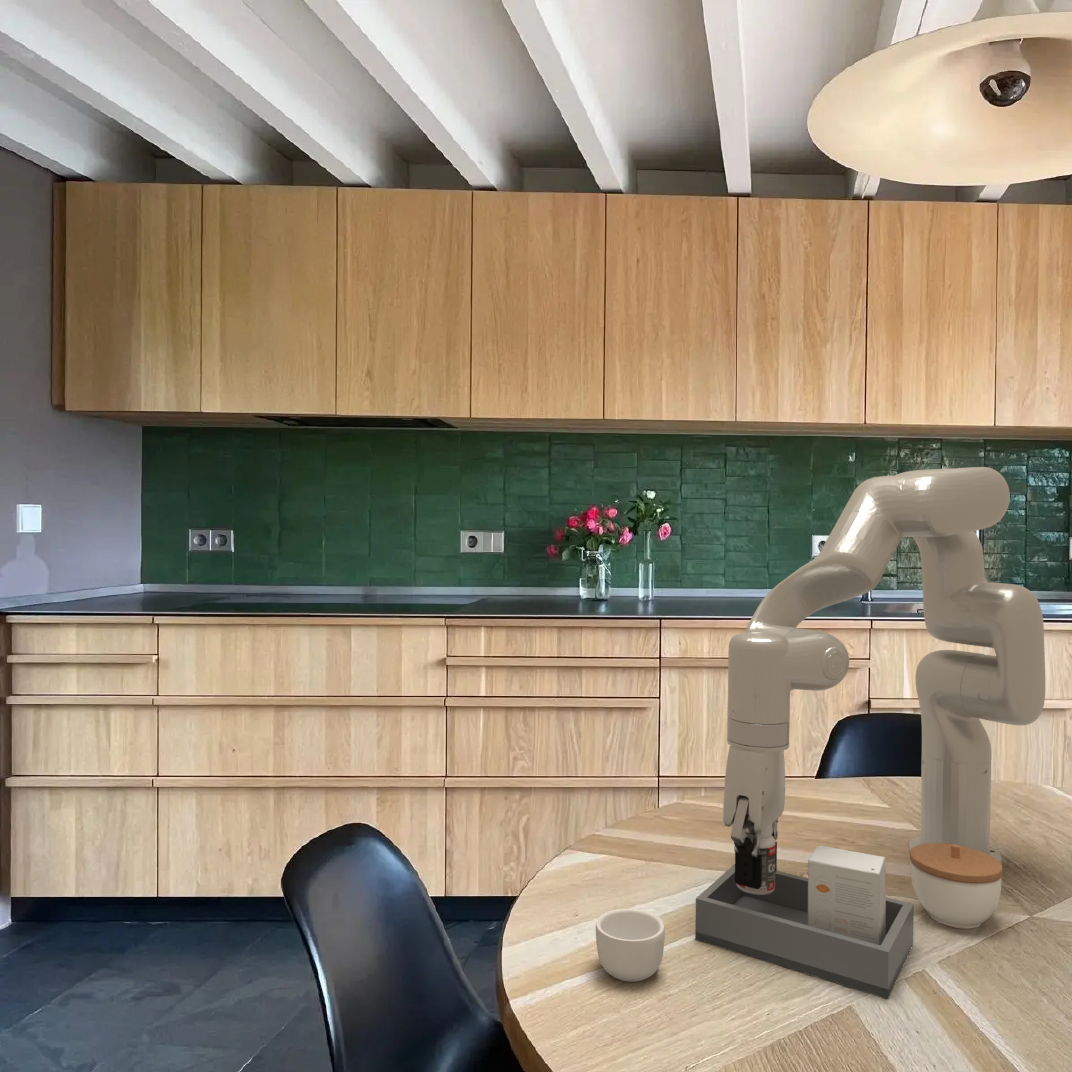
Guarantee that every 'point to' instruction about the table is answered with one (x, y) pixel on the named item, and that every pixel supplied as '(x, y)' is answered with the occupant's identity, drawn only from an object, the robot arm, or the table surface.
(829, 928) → the small box
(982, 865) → the lidded jar
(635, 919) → the teacup
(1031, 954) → the table surface
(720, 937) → the tote
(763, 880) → the pill bottle
